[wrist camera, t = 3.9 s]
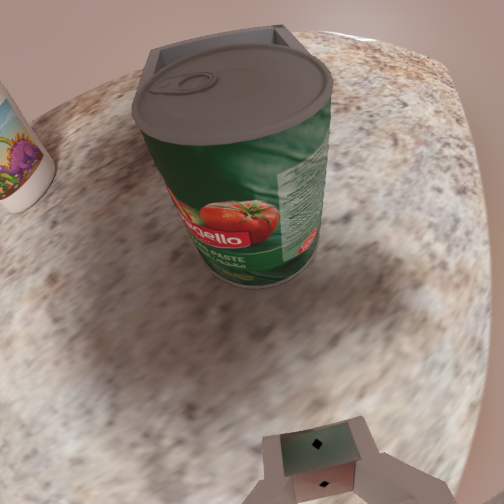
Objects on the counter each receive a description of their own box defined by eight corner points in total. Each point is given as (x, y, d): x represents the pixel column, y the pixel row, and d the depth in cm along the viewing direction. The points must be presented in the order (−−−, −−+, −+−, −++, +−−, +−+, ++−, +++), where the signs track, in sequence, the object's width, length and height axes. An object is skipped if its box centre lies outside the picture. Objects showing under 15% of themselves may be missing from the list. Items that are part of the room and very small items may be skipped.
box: (156, 163, 24) (131, 108, 19) (164, 92, 31) (150, 50, 26) (322, 131, 24) (325, 71, 19) (285, 69, 31) (282, 24, 26)
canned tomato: (323, 193, 21) (334, 45, 11) (312, 298, 17) (334, 145, 8) (215, 183, 22) (176, 48, 13) (182, 278, 19) (94, 143, 9)
